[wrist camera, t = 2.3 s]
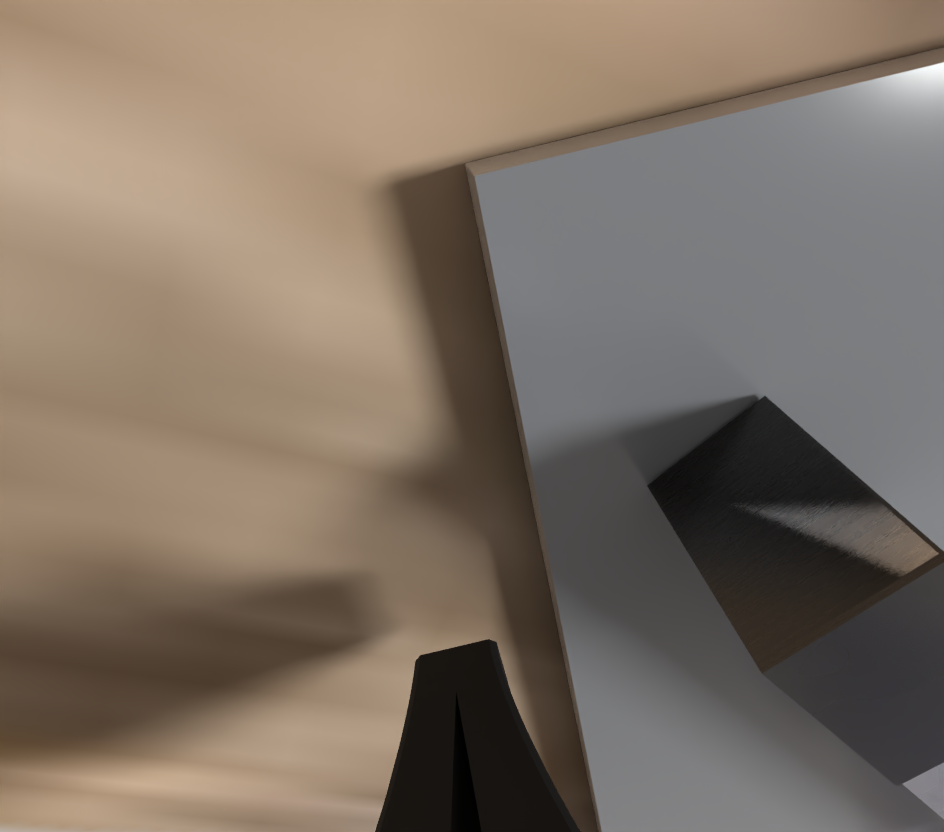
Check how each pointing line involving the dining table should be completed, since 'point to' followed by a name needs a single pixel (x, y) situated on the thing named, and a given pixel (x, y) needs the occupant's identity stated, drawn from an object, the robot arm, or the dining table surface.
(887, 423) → the slate board
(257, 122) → the dining table surface
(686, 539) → the bar
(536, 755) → the robot arm
